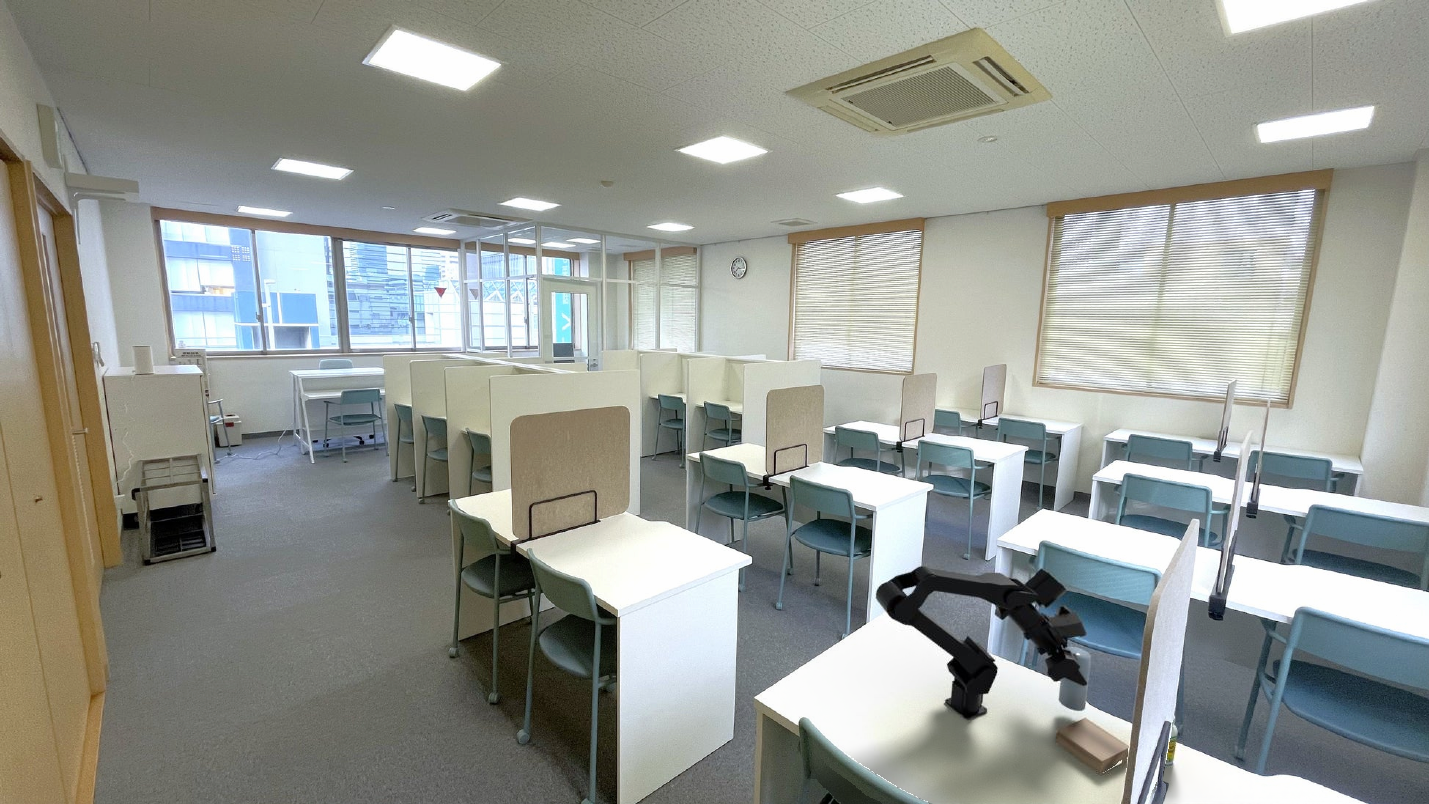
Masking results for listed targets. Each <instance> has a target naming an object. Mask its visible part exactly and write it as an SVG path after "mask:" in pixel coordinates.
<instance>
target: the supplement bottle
mask: <svg viewBox="0 0 1429 804" xmlns="http://www.w3.org/2000/svg"><path fill="white" fill-rule="evenodd" d="M1175 722H1176V716H1175V715H1174V719H1173V722H1172V735H1171V738H1170V742H1169V749H1168V753H1167V760H1166V765H1165V766H1167V765H1168V766H1169V765H1172V763H1174V759H1175V753H1176V746H1177V740H1178V728H1177V726H1176V725H1175V724H1176V723H1175Z"/></svg>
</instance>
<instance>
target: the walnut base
mask: <svg viewBox="0 0 1429 804" xmlns="http://www.w3.org/2000/svg"><path fill="white" fill-rule="evenodd" d="M1055 743H1056V745H1058V746H1060V748H1062V749H1064V750H1065V751H1067V753H1069V754H1071V755H1072V756H1073V757H1075V758H1076V759H1078V761H1080V762H1081V763H1083V764H1085V765H1086V766H1087V767H1089V768H1090V769H1091V770H1093V771H1094V772H1095V771H1096V772H1095V773H1097V774H1098V775H1100V774H1101V775H1102V773H1103V772H1105V771H1107V770H1108V769H1110V768H1112V767H1113V766H1115V765H1116V764H1117V763H1118V762H1119V761H1121V760H1122V764H1125V763H1126V762H1128V761H1127V757H1128V748H1129V746H1130V745H1128V744H1127V743H1125V742H1124V741H1122V740H1121V739H1119V738H1118V737H1116V736H1114V735H1113V734H1112V733H1109V732H1108V731H1107V730H1105V729H1104V728H1102V727H1100V726H1099V725H1097V724H1096V723H1095V722H1093V721H1091V720H1090V719H1088V718H1087V717H1083V718H1081V719H1079V720H1077V721H1074V722H1073V723H1070V724H1068V725H1065V726H1064V727H1060V728H1059V729H1057V731H1056V739H1055ZM1107 772H1108V771H1107ZM1105 773H1106V772H1105ZM1103 774H1104V773H1103Z"/></svg>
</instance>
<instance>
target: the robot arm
mask: <svg viewBox="0 0 1429 804" xmlns="http://www.w3.org/2000/svg"><path fill="white" fill-rule="evenodd" d="M910 588H914V589H913V590H912V592H911V593H910V594H907V593H905V591H904V590H905V589H910ZM1067 591H1068V590H1067V588H1066V587H1065V586H1064V585H1063V584H1062V583H1061V582H1059V581H1058V580H1057V579H1056V578H1055V577H1054V576H1052V574H1050V572H1048V571H1047V570H1046V569H1044V568H1040V569H1039V570H1038V571H1036V573H1035V575H1033V576H1032V577H1030V579H1029V580H1027V581H1025V583H1023V582H1022V581H1021V580H1019V579H1018V578H1014V577H1008V576H1006V575H1005V574H1004V573H1001V572H984V573H981V574H979V575H975V574H967V573H960V572H955V571H948V570H941V569H936V568H929V567H927V566H924V565H919V566H917V567H916V568H915V569H913V570H912V571H909V572H905V573H902V574H897V575H894V577H892V578H891V579H889V580H888V581H886V582H884V583H883V582H882V583H881V584H880V585H879V586H878V587H877V589H876V591H875V599H876V601H877V602H878V604H879V605H880V606H881V608H882V609H883V610H884V611H885V613H886V614H887V615H888V616H889V618H891V620H894V621H896V622H898V623H900V624H901V625H903V626H909V627H913V628H914V629H915V630H916V631H918V632H919V633H921V634H922V635H924V636H925V637H926V638H927V639H928V640H930V641H932V643H934V644H936V645H937V646H938V647H939V648H941V649H942V650H943V651H944V652H946V653H947V654H949V655H950V656H952V658H951V659H950V660H949V661H948V662H947V663H946V667H947V670H948V672H949V673H950V674H951V675H952V676H953V677H954V678H953V680H952V682H951V691H950V697H949V698H948V697H947V698H946V699H944V702H945V704H947V705H948V706H949V707H950V708H951V709H952V710H954V711H955V712H957V713H958V714H959V715H960V716H962V717H963V718H964V719H965V720H970V719H972V718H975V717H978V716H980V715H983V714H985V713H988V708H987V707H985V706H984V705H982V704H983V700H984V695H989V693H990V691H991V688H992V686H993V683H994V682H995V679H996V677H997V675H998V670H999V667H998V666H997V665H996V663H995V662H996V659H995V658H994V657H993V656H992V655H991V654H990V653H989V652H988V651H987V650H986V649H985V648H984V647H983V646H982V645H981V644H980V643H979V642H976V641H974V640H973V639H972V638H971V636H969V635H967V636H966V638H965V639H960V638H958V636H956V635H954V633H952V632H951V631H949V630H948V629H946V628H945V627H944V626H943V625H941V624H940V623H939V622H938V621H936V620H935V619H934V618H933V617H931V616H930V615H929V614H927V613H926V612H924V611H923V610H922V609H921V607H923V604H924V603H925V601H926V600H927V599H928V597H929V595H932V594H933V592H938V593H939V592H940V593H945V594H950V595H951V594H952V595H959V596H965V597H972V598H976V599H977V598H978V599H981V600H984V601H986V602H988V603H990V604H993V605H994V606H995V609H994V610H995V611H994V616H996V617H997V618H998V619H1000V620H1001V621H1003V620H1005V619H1006V618H1007V617H1008V618H1009V619H1010V620H1011V621H1012V622H1013V623H1014V624H1015V626H1017V628H1018V629H1020V631H1021V632H1022V634H1023V638H1025V640H1026V641H1029V640H1030V642H1031V643H1032V644H1033V645H1034V646H1035V647H1036V650H1037V653H1038V654H1039V655H1040V656H1043V655H1044V654H1047V656H1048V657H1047V658H1045V659H1044V664H1043V666H1044V669H1045V671H1046V675H1047V676H1048V677H1049V678H1050V679H1051V680H1052V681H1053V682H1056V683H1057V682H1060V681H1061V679H1063V678H1066V679H1069V680H1071V681H1073V682H1075V683H1077V684H1080V685H1082V686H1085V685H1087V684H1088V685H1089V682H1088V683H1087V681H1086V680H1085V678H1084V677H1083V675H1082V674H1081V672H1080V671H1079V668H1080V665H1079V663H1078V660H1077V657H1076V655H1075V654H1072V653H1071V651H1069V650H1064V649H1065V648H1066V647H1069V646H1068V640H1069V639H1073V638H1077V637H1080V638H1082V637H1085V636H1087V634H1088V633H1087V631H1086V629H1085V626H1084V624H1083V621H1082V619H1081V617H1080V616H1079V614H1078V612H1076V611H1075V610H1074V609H1073V610H1071V609H1069V608H1068V607H1067V606H1066V605H1063V604H1062V605H1058V606H1057V609H1056V613H1055V614H1054V616H1052V615H1047V614H1046V613H1044V612H1040V611H1039V610H1038V608H1041V607H1043V608H1044V609H1045V610H1047V609H1048V608H1049V607H1050V606H1051V605H1053V604H1054V603H1055V602H1056V601H1057V600H1058V599H1059V598H1060V597H1062V596H1063V595H1064V594H1065V593H1066V592H1067ZM1034 605H1035V606H1037V607H1038V608H1037V607H1035V606H1034Z"/></svg>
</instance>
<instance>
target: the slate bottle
mask: <svg viewBox="0 0 1429 804" xmlns="http://www.w3.org/2000/svg"><path fill="white" fill-rule="evenodd" d="M1064 650H1069V651H1071V653H1072V654H1075V655H1076V657H1077V660H1078V663H1079V665H1080V668H1079V671H1080V672H1081V674H1082V675H1083V677H1084V678H1085V680H1086V681H1087V683H1088V684H1087V685H1085V686H1082V685H1080V684H1077V683H1075V682H1073V681H1071V680H1069V679H1066V678H1063V679H1061V680H1060V681H1059V682H1060V683H1059V692H1058V701H1059V703H1060V704H1061V706H1063V707H1065V708H1067V709H1068V710H1073V711H1076V712H1082V711H1085V709H1086V704H1087V695H1088V688H1089V687H1088V686H1089V678H1090V671H1091V662H1092V655H1091V654H1090V653H1089V651H1086V650H1084V649H1082V648H1080V647H1075V646H1068V647H1066V648H1065V649H1064Z"/></svg>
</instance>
